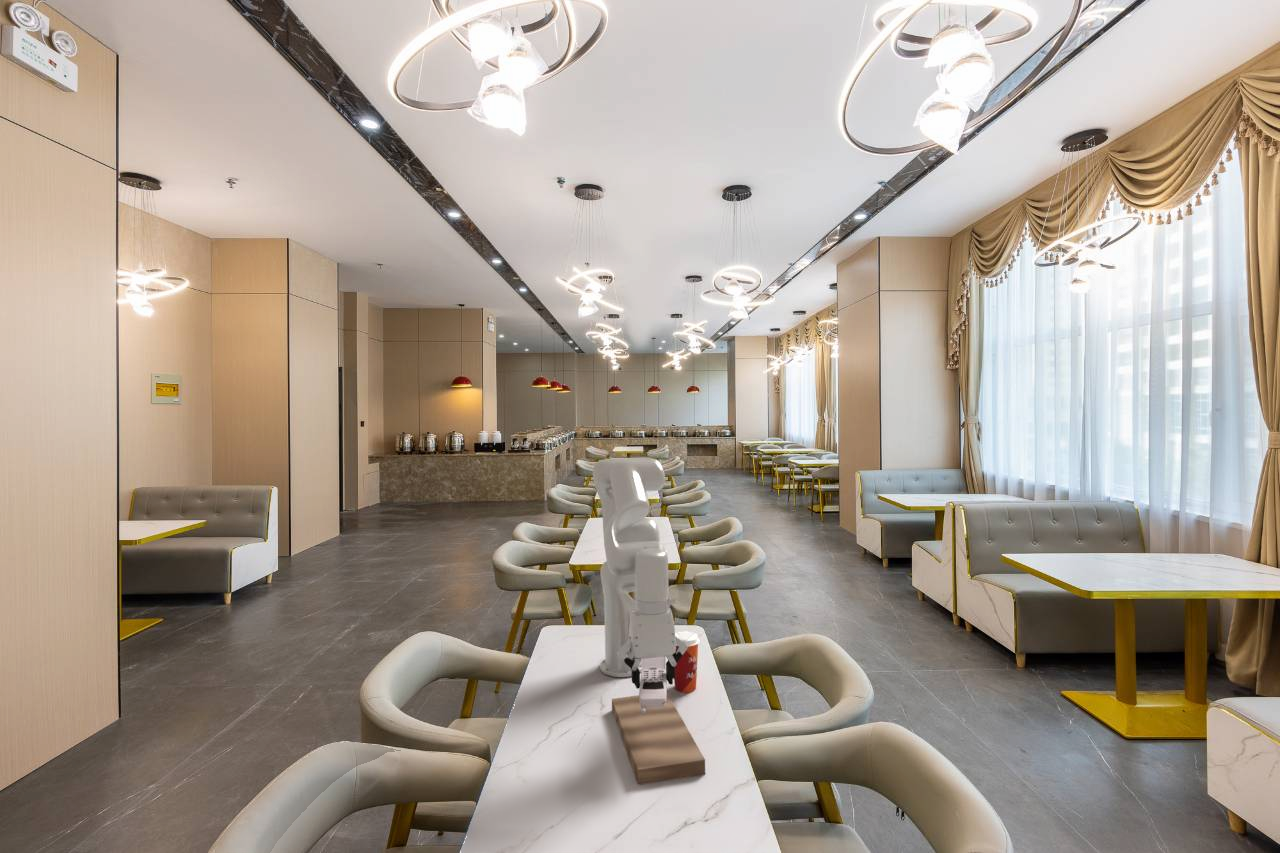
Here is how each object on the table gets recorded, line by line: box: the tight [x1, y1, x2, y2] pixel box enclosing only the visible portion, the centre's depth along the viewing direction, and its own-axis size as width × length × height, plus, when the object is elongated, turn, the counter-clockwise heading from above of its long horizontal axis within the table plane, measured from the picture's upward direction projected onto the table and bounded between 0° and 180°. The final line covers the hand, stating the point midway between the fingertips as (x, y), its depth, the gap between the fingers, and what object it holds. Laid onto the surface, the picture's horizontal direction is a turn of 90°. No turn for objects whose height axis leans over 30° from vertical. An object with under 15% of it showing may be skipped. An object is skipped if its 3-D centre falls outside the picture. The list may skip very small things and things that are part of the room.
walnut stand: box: [611, 692, 706, 785], centre depth 137 cm, size 30×14×3 cm, turn 13°
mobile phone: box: [638, 656, 668, 714], centre depth 137 cm, size 6×6×25 cm
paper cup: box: [673, 630, 700, 694], centre depth 162 cm, size 8×8×14 cm
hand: (653, 683), depth 137 cm, fingers closed on mobile phone, 6 cm apart
